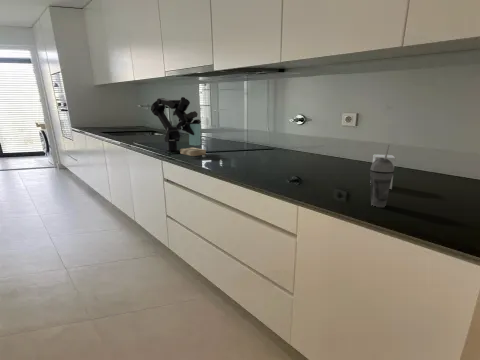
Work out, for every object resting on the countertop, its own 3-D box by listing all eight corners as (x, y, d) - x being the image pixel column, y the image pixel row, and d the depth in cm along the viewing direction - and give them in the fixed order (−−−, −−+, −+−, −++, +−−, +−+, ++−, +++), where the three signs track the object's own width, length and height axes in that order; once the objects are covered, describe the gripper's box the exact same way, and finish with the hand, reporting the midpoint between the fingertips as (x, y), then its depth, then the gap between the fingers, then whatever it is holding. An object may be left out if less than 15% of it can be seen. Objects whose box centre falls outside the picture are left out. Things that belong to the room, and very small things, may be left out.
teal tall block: (189, 144, 209) (189, 124, 206) (194, 144, 214) (194, 123, 211) (195, 145, 207) (195, 124, 204) (200, 144, 211) (200, 124, 208)
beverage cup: (365, 201, 113) (371, 142, 108) (388, 203, 111) (395, 143, 106) (367, 207, 106) (373, 145, 102) (391, 209, 104) (399, 146, 100)
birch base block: (180, 153, 214) (180, 148, 213) (193, 151, 220) (192, 147, 220) (192, 156, 204) (192, 151, 203) (205, 154, 210) (205, 149, 210)
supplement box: (371, 188, 129) (374, 156, 126) (370, 184, 136) (373, 153, 133) (392, 190, 127) (395, 157, 124) (389, 185, 134) (393, 154, 131)
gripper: (179, 107, 199) (194, 126, 196) (198, 106, 214) (212, 124, 212) (169, 120, 204) (184, 139, 202) (188, 118, 220) (202, 136, 217)
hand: (196, 134), depth 208 cm, fingers closed on teal tall block, 5 cm apart
